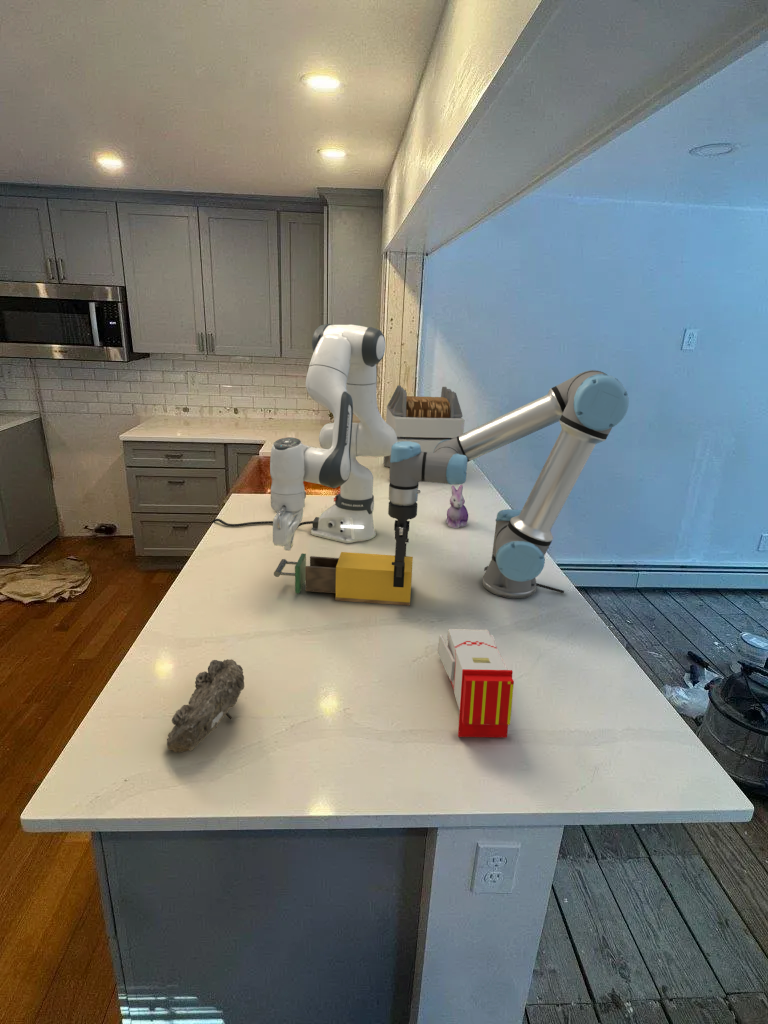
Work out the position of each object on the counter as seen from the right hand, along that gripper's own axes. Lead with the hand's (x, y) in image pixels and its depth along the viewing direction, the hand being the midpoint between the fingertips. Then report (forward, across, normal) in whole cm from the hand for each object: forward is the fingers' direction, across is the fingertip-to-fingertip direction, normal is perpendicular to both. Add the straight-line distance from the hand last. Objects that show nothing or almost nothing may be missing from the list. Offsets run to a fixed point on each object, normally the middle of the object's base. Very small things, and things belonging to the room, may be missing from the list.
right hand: (399, 575), depth 155 cm
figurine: (+6, +59, -19) cm, 62 cm away
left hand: (-6, 0, +30) cm, 31 cm away
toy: (+6, -40, -17) cm, 44 cm away
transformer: (+6, +126, -4) cm, 126 cm away
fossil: (+6, -54, +33) cm, 63 cm away
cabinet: (+6, 0, +7) cm, 9 cm away
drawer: (+5, 0, +21) cm, 22 cm away
